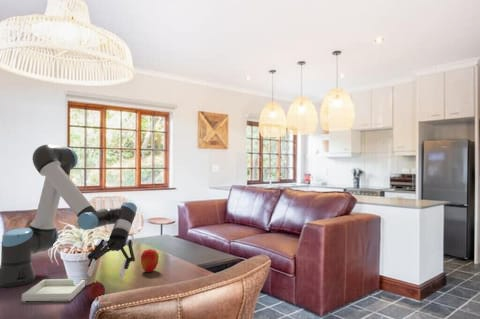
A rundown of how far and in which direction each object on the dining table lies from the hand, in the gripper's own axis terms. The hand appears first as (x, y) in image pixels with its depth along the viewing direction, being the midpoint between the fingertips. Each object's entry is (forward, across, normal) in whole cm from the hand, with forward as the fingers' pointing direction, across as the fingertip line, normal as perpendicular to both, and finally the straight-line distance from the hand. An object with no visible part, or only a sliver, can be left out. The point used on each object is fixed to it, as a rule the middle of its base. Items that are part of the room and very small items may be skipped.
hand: (105, 275), depth 136 cm
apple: (-19, -7, -32) cm, 38 cm away
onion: (+9, +2, -4) cm, 10 cm away
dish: (+5, +22, -8) cm, 23 cm away
